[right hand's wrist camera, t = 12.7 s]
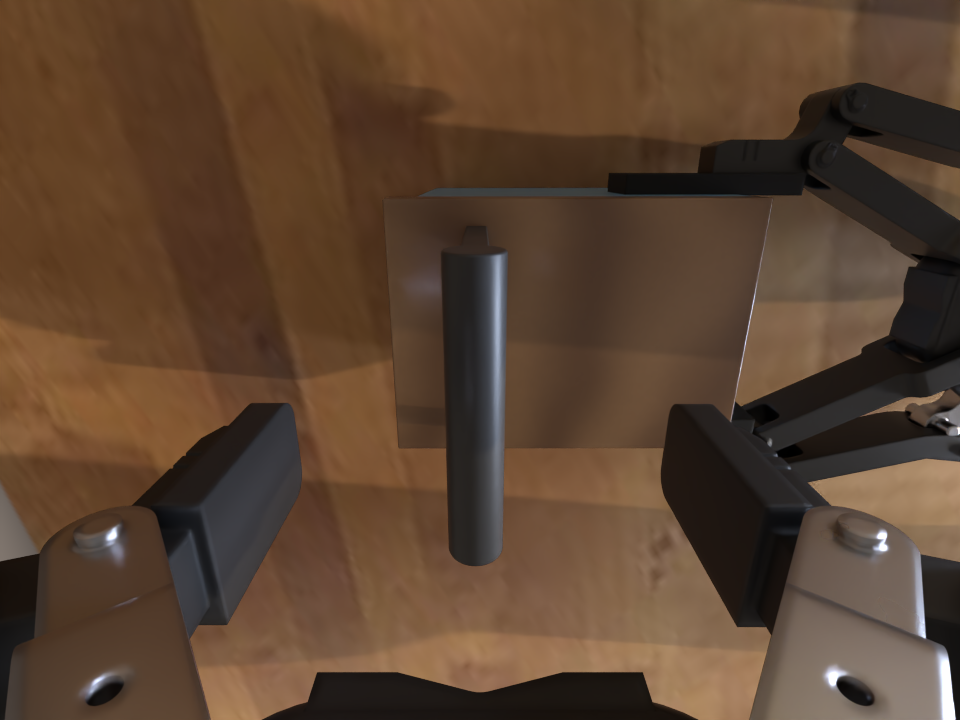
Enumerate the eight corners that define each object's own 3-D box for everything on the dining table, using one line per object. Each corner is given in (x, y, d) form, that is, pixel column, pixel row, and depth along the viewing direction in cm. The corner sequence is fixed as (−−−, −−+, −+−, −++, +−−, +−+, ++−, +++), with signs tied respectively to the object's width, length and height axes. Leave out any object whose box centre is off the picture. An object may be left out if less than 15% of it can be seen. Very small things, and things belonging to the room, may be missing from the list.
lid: (403, 432, 21) (357, 589, 13) (388, 196, 18) (316, 216, 10) (712, 432, 21) (850, 589, 13) (754, 195, 18) (971, 216, 10)
